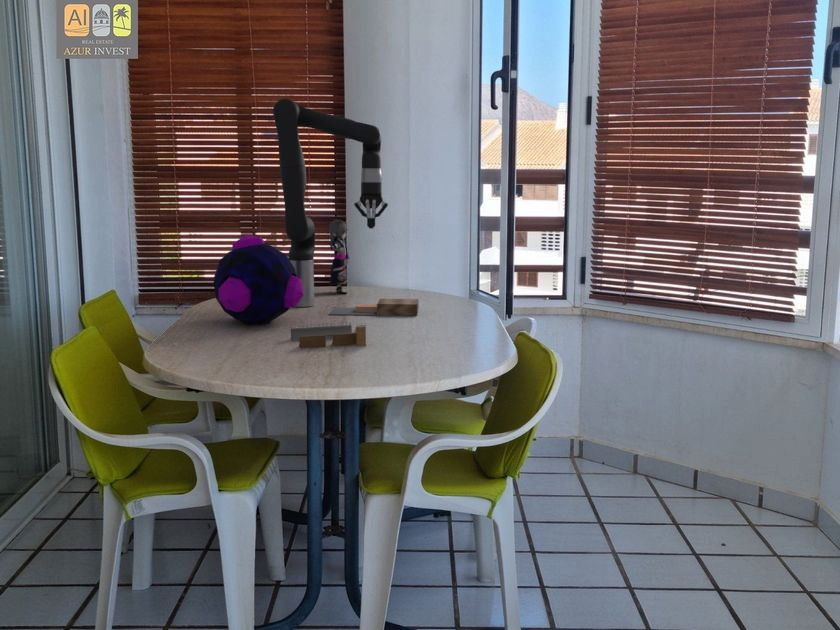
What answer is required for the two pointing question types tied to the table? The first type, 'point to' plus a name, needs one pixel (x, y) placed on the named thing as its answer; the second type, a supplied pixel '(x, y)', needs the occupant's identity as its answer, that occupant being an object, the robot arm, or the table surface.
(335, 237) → the figurine
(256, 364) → the table surface
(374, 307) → the salmon pink rectangular block
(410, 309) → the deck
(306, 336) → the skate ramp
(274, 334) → the table surface
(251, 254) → the sculpture
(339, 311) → the mat
